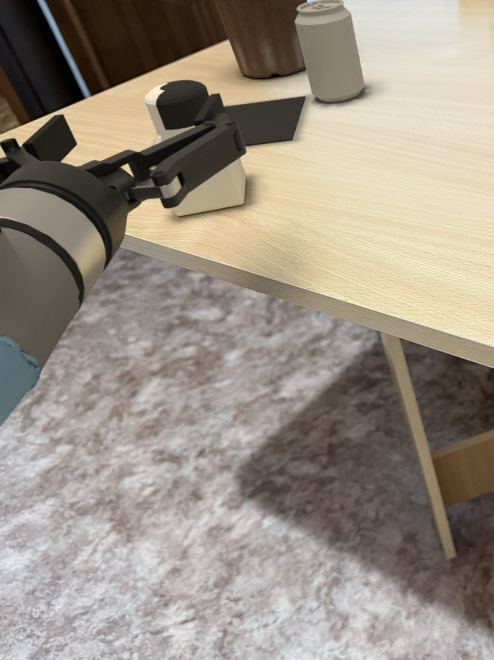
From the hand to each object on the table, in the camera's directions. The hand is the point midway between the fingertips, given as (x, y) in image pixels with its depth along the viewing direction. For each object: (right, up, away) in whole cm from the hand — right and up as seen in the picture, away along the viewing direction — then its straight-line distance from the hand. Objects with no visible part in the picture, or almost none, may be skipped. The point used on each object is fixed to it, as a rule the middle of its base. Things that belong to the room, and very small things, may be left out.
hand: (143, 119), depth 60 cm
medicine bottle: (0, -4, +15) cm, 16 cm away
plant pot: (-2, +26, +52) cm, 58 cm away
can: (+10, +16, +38) cm, 42 cm away
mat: (-3, +10, +32) cm, 34 cm away
